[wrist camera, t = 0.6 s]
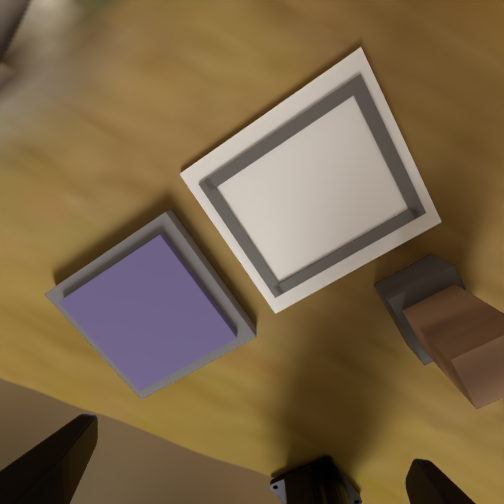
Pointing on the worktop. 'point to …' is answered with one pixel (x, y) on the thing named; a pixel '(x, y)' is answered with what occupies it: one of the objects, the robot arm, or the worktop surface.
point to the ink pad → (154, 307)
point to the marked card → (315, 186)
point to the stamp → (448, 327)
